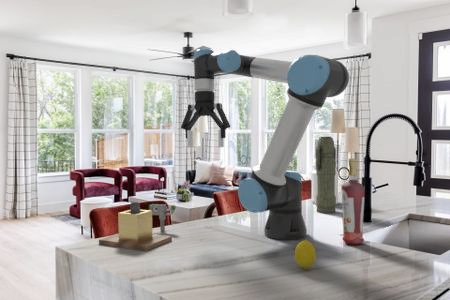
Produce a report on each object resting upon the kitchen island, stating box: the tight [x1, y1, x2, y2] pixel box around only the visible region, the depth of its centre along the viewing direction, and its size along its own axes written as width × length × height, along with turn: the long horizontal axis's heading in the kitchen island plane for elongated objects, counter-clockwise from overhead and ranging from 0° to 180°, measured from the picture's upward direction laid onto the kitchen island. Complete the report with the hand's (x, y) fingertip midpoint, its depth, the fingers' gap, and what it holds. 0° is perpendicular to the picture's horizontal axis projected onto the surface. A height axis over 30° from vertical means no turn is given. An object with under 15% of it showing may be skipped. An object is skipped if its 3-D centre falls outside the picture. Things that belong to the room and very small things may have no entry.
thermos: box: [315, 136, 337, 214], centre depth 190 cm, size 9×12×35 cm
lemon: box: [294, 239, 317, 270], centre depth 109 cm, size 6×6×8 cm
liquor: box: [341, 158, 366, 246], centre depth 134 cm, size 7×7×28 cm
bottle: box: [310, 157, 340, 205], centre depth 213 cm, size 14×14×28 cm
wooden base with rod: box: [98, 201, 173, 252], centre depth 139 cm, size 20×14×14 cm
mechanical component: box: [148, 203, 177, 232], centre depth 156 cm, size 3×10×10 cm, turn 78°
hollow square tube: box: [117, 209, 153, 242], centre depth 139 cm, size 8×8×9 cm
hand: (205, 147), depth 155 cm, fingers open, 13 cm apart
